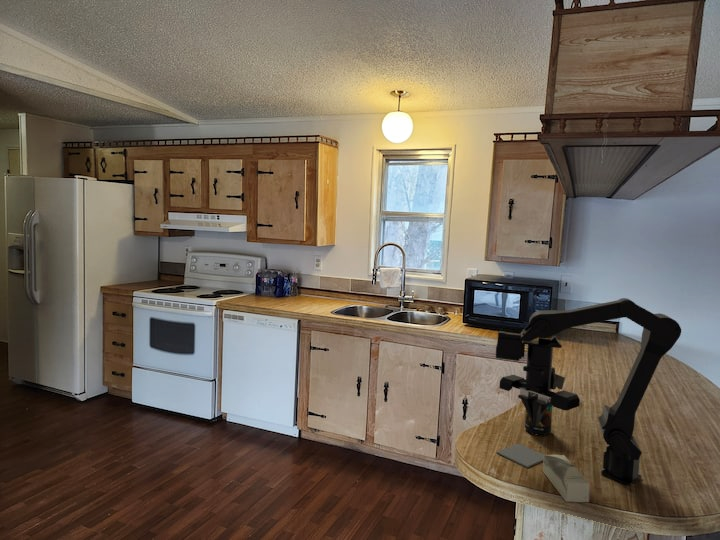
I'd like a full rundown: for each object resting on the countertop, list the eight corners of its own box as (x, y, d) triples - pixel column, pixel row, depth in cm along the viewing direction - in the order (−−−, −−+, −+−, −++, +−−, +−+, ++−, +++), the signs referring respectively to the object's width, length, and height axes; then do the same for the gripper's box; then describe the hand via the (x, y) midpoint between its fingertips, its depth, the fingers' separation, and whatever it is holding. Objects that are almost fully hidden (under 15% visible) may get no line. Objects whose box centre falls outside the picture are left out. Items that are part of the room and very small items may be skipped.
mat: (548, 458, 119) (549, 456, 119) (527, 467, 114) (527, 466, 114) (518, 444, 127) (518, 443, 127) (496, 453, 121) (496, 451, 121)
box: (564, 454, 112) (592, 482, 99) (563, 472, 113) (590, 503, 100) (542, 454, 112) (567, 482, 99) (541, 472, 112) (565, 502, 100)
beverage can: (524, 433, 134) (526, 392, 133) (524, 424, 141) (527, 384, 140) (551, 438, 132) (553, 395, 131) (550, 428, 138) (553, 388, 137)
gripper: (594, 368, 113) (589, 431, 114) (526, 350, 128) (522, 407, 129) (568, 375, 107) (563, 442, 108) (499, 356, 122) (496, 415, 123)
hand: (535, 425), depth 117 cm, fingers closed
